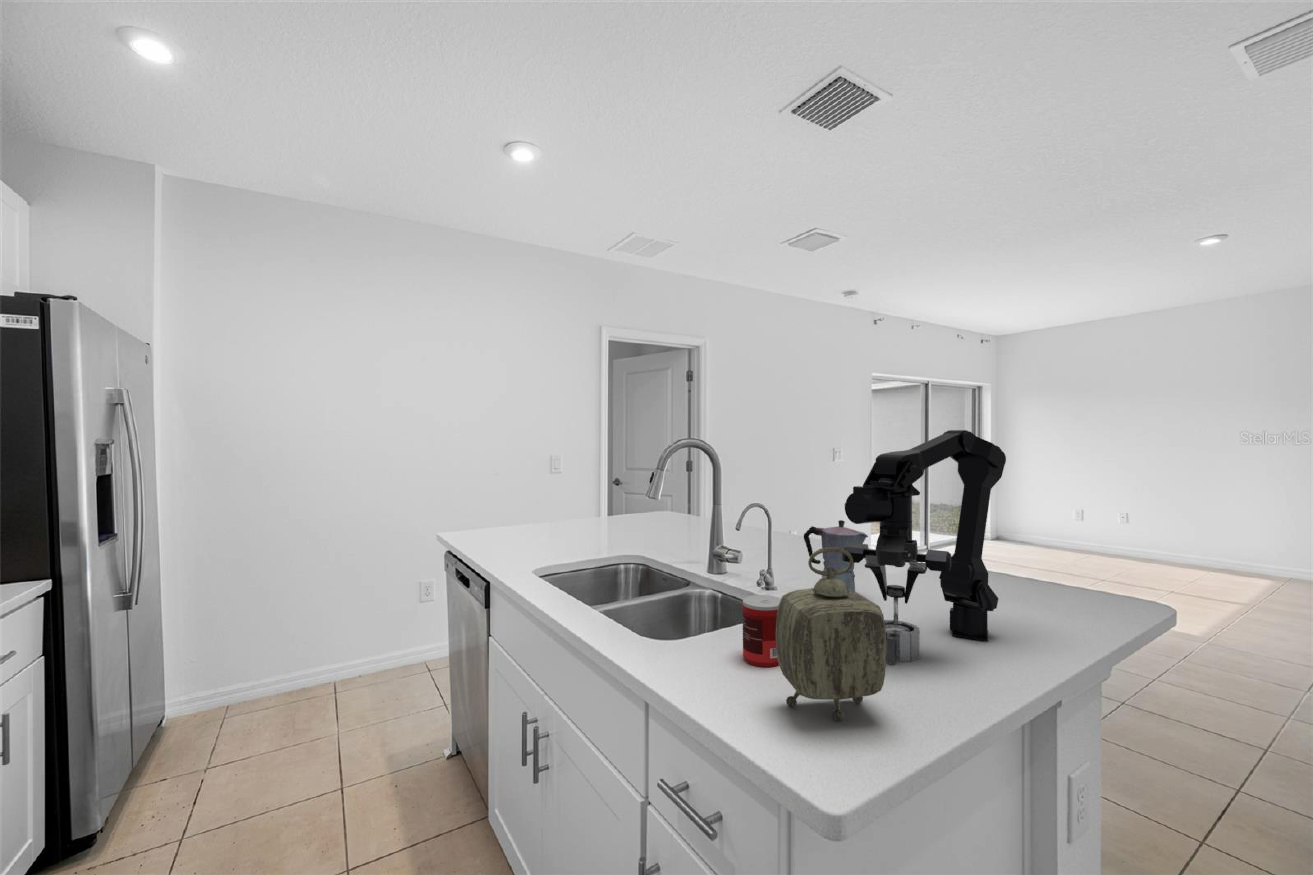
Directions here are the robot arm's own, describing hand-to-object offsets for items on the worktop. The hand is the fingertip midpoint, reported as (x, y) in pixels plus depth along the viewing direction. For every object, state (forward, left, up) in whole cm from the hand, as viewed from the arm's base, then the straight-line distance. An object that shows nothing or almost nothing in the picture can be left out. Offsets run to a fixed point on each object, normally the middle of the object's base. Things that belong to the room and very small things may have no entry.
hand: (895, 601), depth 111 cm
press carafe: (0, +1, -10) cm, 10 cm away
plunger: (0, 0, -6) cm, 6 cm away
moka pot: (+18, -30, -10) cm, 36 cm away
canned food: (+21, +15, -10) cm, 28 cm away
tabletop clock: (+5, +30, -10) cm, 32 cm away
